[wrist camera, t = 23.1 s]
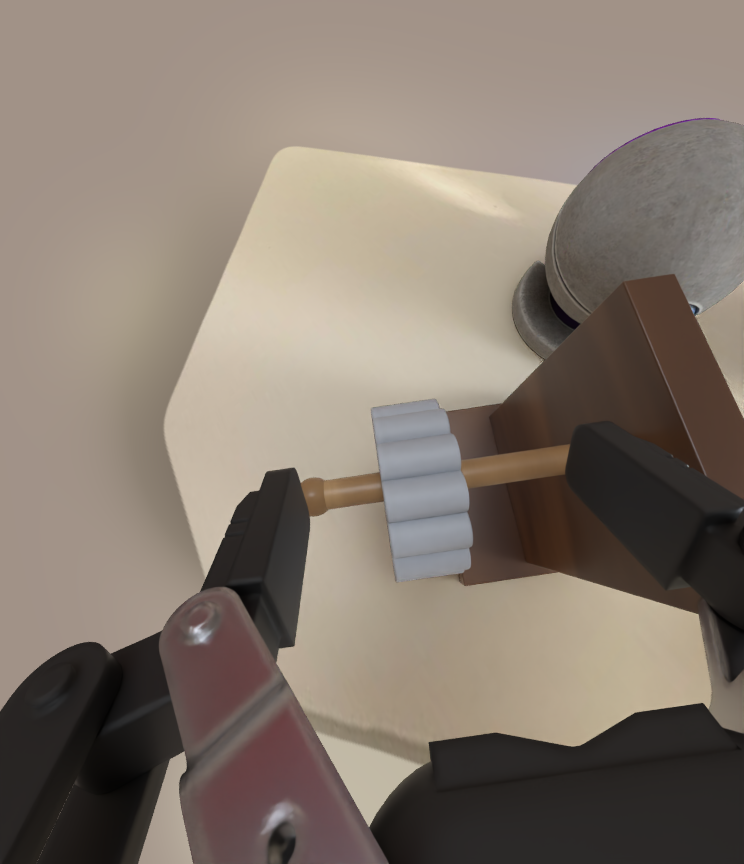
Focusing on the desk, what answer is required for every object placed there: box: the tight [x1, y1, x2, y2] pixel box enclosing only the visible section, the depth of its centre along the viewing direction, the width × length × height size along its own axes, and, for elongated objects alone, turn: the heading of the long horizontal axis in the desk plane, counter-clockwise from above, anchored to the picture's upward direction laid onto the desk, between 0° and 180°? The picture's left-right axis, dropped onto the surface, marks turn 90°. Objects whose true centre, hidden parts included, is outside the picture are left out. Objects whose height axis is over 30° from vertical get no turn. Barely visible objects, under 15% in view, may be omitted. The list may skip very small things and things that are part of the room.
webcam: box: [512, 118, 744, 359], centre depth 25 cm, size 13×13×15 cm
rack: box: [301, 274, 744, 614], centre depth 19 cm, size 19×14×18 cm
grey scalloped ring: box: [371, 399, 473, 582], centre depth 15 cm, size 3×8×8 cm, turn 8°
